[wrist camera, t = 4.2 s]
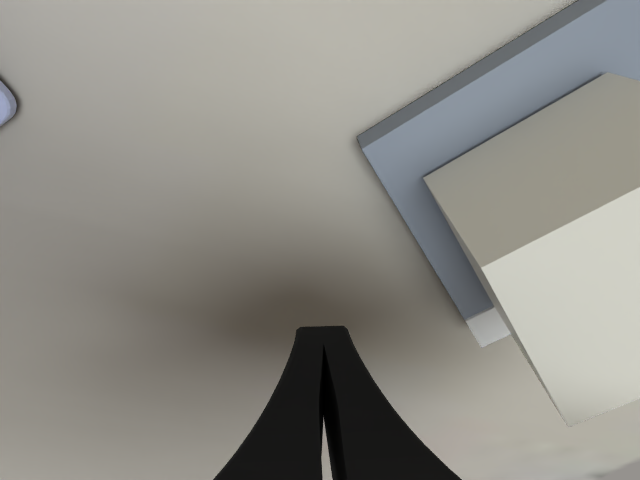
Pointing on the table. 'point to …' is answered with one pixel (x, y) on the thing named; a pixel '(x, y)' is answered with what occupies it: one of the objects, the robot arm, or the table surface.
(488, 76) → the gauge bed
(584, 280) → the off-white block with tab
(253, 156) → the table surface
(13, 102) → the robot arm
